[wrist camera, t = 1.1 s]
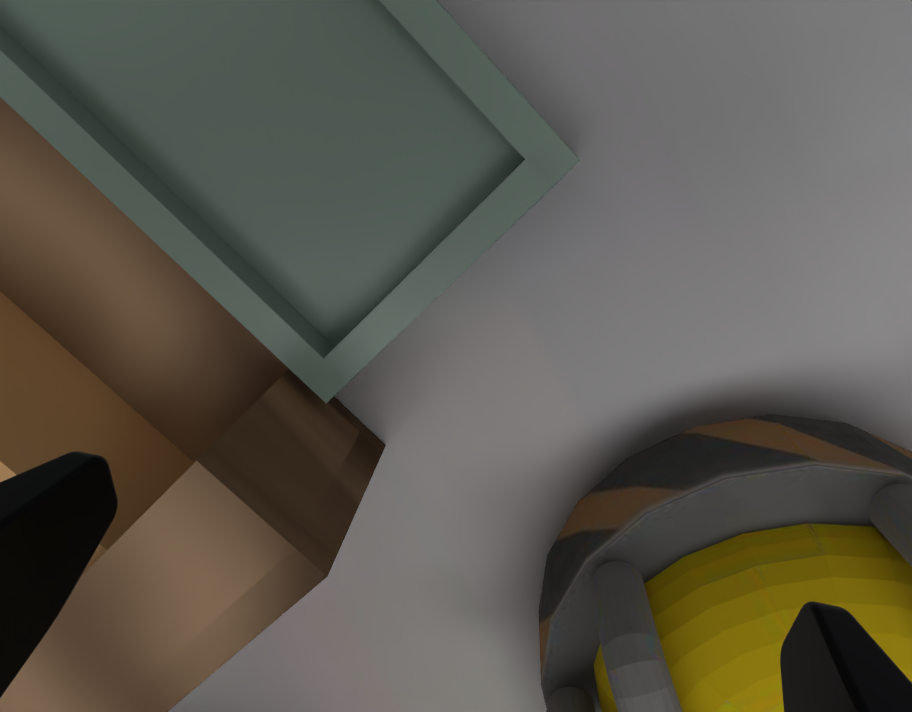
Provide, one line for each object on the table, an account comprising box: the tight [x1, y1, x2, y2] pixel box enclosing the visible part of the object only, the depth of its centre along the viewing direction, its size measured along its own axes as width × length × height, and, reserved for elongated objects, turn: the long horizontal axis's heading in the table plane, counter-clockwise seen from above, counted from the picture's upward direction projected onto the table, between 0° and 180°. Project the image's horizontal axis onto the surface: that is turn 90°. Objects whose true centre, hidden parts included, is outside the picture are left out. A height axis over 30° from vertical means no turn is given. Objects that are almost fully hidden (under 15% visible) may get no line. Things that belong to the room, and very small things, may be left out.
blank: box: [0, 291, 194, 576], centre depth 20 cm, size 4×12×5 cm, turn 45°
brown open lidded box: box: [0, 97, 386, 712], centre depth 20 cm, size 14×16×7 cm
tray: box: [0, 0, 580, 403], centre depth 18 cm, size 10×17×2 cm, turn 45°
